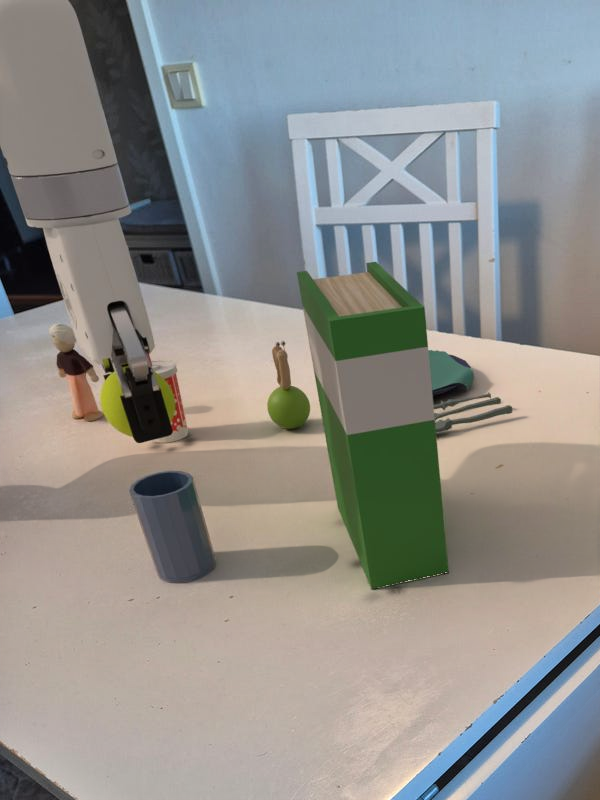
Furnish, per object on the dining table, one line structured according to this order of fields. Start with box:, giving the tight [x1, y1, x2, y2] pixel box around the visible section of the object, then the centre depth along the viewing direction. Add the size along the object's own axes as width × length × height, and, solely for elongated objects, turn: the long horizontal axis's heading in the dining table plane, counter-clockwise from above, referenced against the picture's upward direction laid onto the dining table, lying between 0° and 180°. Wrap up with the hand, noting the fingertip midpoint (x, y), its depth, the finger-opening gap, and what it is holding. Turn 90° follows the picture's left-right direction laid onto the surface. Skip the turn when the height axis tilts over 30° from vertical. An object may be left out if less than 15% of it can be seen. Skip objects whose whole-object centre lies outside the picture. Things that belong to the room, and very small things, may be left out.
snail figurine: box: [266, 340, 311, 430], centre depth 106 cm, size 5×6×12 cm
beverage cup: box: [147, 353, 189, 444], centre depth 106 cm, size 6×6×14 cm
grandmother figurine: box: [48, 323, 104, 422], centre depth 114 cm, size 8×4×13 cm, turn 72°
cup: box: [128, 470, 217, 584], centre depth 79 cm, size 6×6×9 cm
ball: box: [99, 366, 175, 438], centre depth 72 cm, size 6×6×6 cm
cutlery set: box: [428, 349, 513, 434], centre depth 116 cm, size 20×30×2 cm, turn 25°
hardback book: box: [296, 261, 450, 590], centre depth 78 cm, size 18×7×24 cm, turn 18°
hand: (144, 424), depth 73 cm, fingers closed on ball, 5 cm apart
